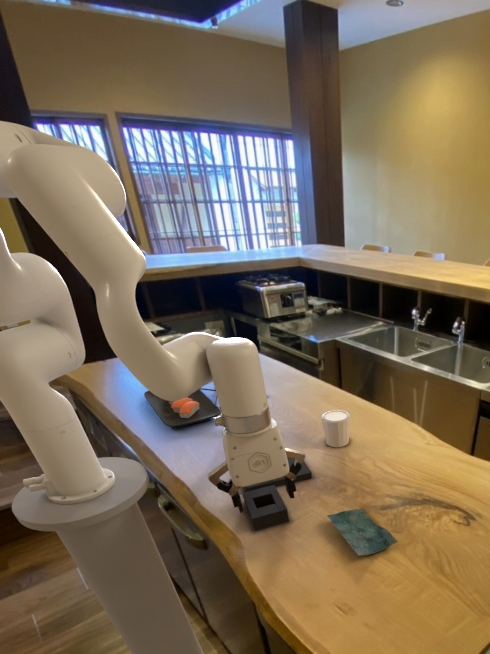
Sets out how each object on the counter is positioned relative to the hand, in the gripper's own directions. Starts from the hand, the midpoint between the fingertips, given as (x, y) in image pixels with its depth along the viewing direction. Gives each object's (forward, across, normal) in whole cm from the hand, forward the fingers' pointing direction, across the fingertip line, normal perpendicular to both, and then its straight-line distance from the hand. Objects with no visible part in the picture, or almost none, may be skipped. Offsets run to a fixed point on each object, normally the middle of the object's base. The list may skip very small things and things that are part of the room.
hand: (266, 501), depth 81 cm
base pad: (+3, +5, +13) cm, 14 cm away
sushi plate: (+2, -2, +60) cm, 60 cm away
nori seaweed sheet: (+3, +14, -14) cm, 20 cm away
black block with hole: (+3, 0, 0) cm, 3 cm away
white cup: (+3, +23, +21) cm, 31 cm away
